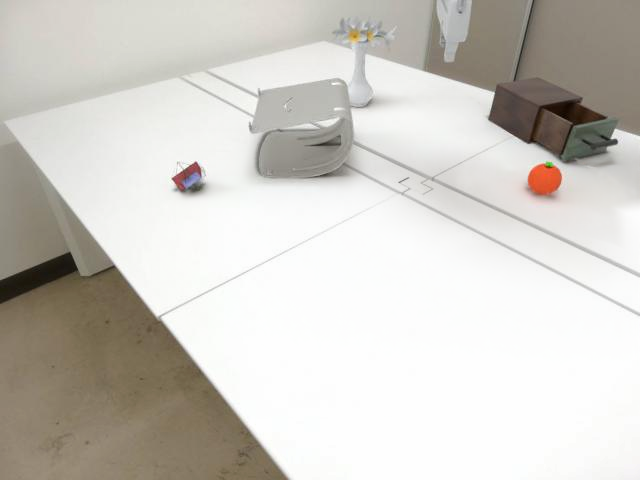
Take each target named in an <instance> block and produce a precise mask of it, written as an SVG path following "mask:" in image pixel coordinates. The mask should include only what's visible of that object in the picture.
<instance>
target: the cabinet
mask: <svg viewBox="0 0 640 480" xmlns="http://www.w3.org/2000/svg"><path fill="white" fill-rule="evenodd" d="M583 98H584V97H583V96H581V95H578V94H576V93H574V92H571V91H569V90H568V89H565V88H563V87H560V86H558V85H557V84H554V83H551V82H549V81H547V80H545V79H543V78H541V77H539V76H537V77H532V78H524V79H519V80H513V81H508V82H507V81H506V82H501V83H497V84H496V87H495V91H494V95H493V99H492V103H491V107H490V110H489V111H490V112H489V114H488V119H487V120H488V121H489V122H491V123H493V124H495V125H496V126H498V127H499V128H501V129H503V130H504V131H506V132H508V133H509V134H511V135H513V136H514V137H516V138H518V139H519V140H521V141H523V142H524V143H525V144H527V145H528V144H532V143H533V144H534V143H538V142H537V141H536V140H534V139H532V135H533V132H534V128H535V125H536V122H537V119H538V116H539V112H540V109H541V108H545V107H550V106H555V105H560V104H565V103H571V102H578V103H580V104H582V101H583Z"/></svg>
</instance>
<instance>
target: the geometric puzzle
mask: <svg viewBox="0 0 640 480" xmlns="http://www.w3.org/2000/svg"><path fill="white" fill-rule="evenodd" d="M180 163H181V161H177V163H176V166H178V165H179V167H181V169H182V170H181V171H180V172H179V173H177V172H178V170H175V169H174V171H173V172H175V171H176V172H175V175H173V176H172V177H171V178H170V180H172V181H173V183H174V184H175V185H176V187H177V188H178V190H179V191H180V192H184V191H186V189H189V188H190V187H191V186H193V185H194V186H195V187H196V188H197V189H196V190H197V192H200V190H201V187H202V183H200V185H199V187H197V185H196V183H197V182H198V181H200V180H201V181H203V178H205V177H207V172H206V169H205V168H204V166H203V165H202V164H200V163H199V162H198V161H197V160H195V161H193V163H191V164H188V163H186V165H188V166H187V167H186V168H184V167H183V166H182V165H181V164H180ZM182 164H183V165H185V163H184V162H182ZM191 191H194V189H192V188H191Z"/></svg>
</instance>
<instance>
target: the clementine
mask: <svg viewBox="0 0 640 480" xmlns="http://www.w3.org/2000/svg"><path fill="white" fill-rule="evenodd" d="M562 182H563V175H562V172H561V170H560V168H558V167H557V166H556V165H555V164H553V162H552V161H546V162H545V163H541V164H537V165H536V166H534V167H533V168H532V169H531V170H530V171H529V173H528V175H527V185H528V187H529V188H530V190H531V191H533V192H534V193H536V194H537V195H550V194H552V193H555V192H556V191H557V190H558V189H559V188H560V186H561V185H562Z"/></svg>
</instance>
